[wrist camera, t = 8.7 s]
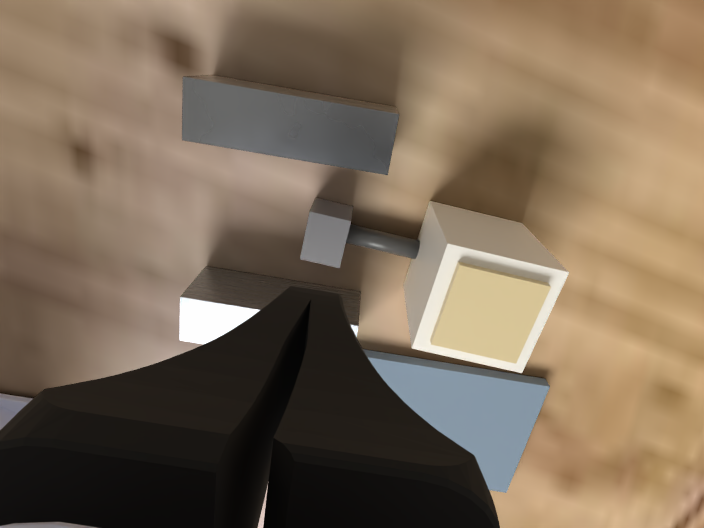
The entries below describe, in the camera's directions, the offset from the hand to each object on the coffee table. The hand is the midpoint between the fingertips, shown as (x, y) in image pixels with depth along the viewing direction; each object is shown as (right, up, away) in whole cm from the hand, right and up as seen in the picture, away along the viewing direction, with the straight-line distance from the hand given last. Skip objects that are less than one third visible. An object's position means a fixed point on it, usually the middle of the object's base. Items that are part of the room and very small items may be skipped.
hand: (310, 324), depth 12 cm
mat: (+3, -6, +12) cm, 14 cm away
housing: (-1, +4, +8) cm, 9 cm away
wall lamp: (+3, +2, +8) cm, 9 cm away
